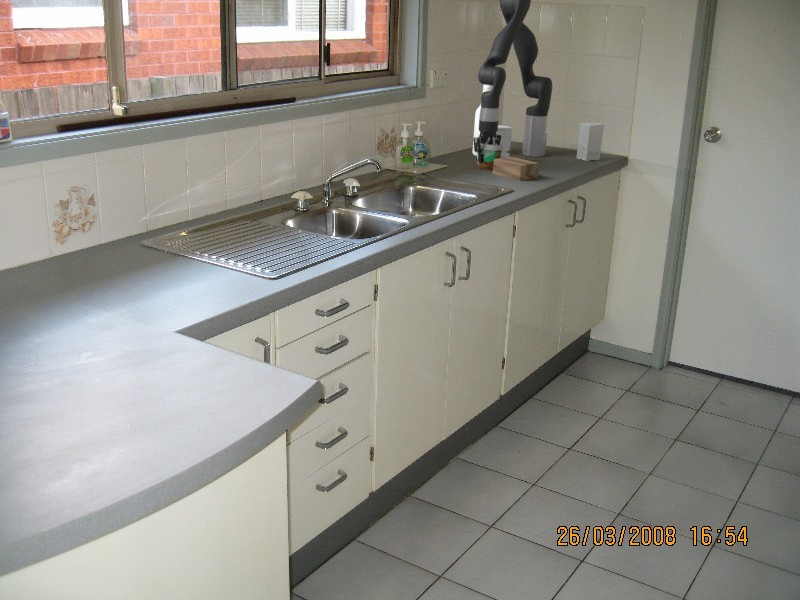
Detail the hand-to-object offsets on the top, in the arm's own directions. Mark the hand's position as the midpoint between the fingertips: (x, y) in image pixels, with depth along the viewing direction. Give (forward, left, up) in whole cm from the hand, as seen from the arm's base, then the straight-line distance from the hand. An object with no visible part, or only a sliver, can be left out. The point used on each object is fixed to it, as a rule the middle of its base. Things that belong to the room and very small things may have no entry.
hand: (485, 162), depth 347 cm
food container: (+1, 0, -3) cm, 3 cm away
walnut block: (+1, +16, -3) cm, 16 cm away
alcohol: (-19, -20, -3) cm, 28 cm away
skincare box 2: (-53, +10, -3) cm, 54 cm away
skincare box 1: (-13, -6, -3) cm, 15 cm away
